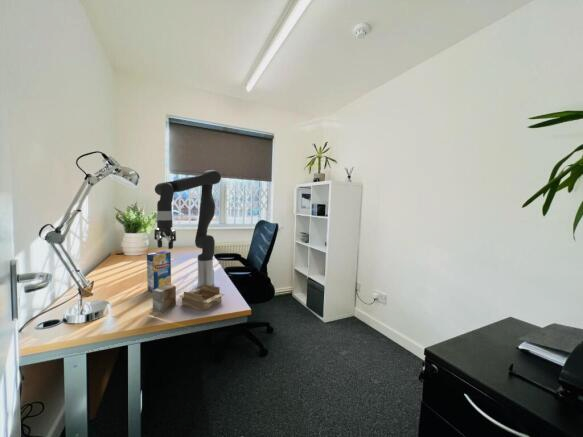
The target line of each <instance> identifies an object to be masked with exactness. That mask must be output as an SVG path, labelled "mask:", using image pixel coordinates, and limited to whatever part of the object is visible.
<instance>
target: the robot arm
mask: <svg viewBox="0 0 583 437" xmlns="http://www.w3.org/2000/svg"><path fill="white" fill-rule="evenodd" d="M221 180H222V175H221V173H220V172H219V170H216V169H215V170H214V169H211V170H205V171H204V172H203V173H202V174H200V175H195V176H190V177H183V178H179V179H178V178H177V179H175V180H171V181H165V182H159V183H158V184H156V185H155V187H154V192H155V194H157V195H159V200H158V201H157V202H156V203H157V206H156V213H157V214H156V227H157V228H155V229H154V238H153V239H154V240H156V241H157V248H162V247H163V239H164V238H165V239H166V240H167V242H168V243H167V244H168V248H167V249H168V250H172V249H173V248H174V242H176V241H177V234H176V233H177V232H176V229H173V230H172V228H173V211H172V210H173V208H172V207H173V206H172V204H173V200H174V195H175V193H179V192H180V193H181V192H184V191H189V190H192V189H195V188H198V187H201V195H200V203H199V204H200V205H199V213H198V214H199V215H198V221H197V222H198V223H197V229H196V234H195V239H194V244H195V246H196V248H198V249H202V252H201V253H200V254H198V256H197V286H198V287H197V288H199V287H200V288H202V284H206V285H211V286H214V284H215V270H214V256H215V248H216V247H215V244H216V243H215V242H216V241H215V238H214V236H213V235H211V234H208V229H209V226H210V224H211V222H212V220H213V219H214V216H215V210H216V203H215V199H214V196H213V185H217V184H219V183H220V182H221Z"/></svg>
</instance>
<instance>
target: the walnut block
mask: <svg viewBox="0 0 583 437" xmlns="http://www.w3.org/2000/svg"><path fill="white" fill-rule="evenodd" d="M175 305H177V285H173V284H171V285H166V286H163V287H160V288H158V289H155V290H153V291H152V308H153V310H152V311H154V312H157V311H158V313H160V312H161V311H164V310H166V309H168V308H170V307H172V306H175Z"/></svg>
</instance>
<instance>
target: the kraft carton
mask: <svg viewBox="0 0 583 437" xmlns="http://www.w3.org/2000/svg"><path fill="white" fill-rule="evenodd" d="M220 290H221V288H220V287H219V286H214V285H212V286H211V285H206V284H202V287H201V288H199V287H197V288H194V289H192V290H191V291H183V294H180V295H179V297H180V298H181V305H182V307H186V308H190V309H193V310H198V311H201V312H204V311H206V310H208V309H209V308H211V307H213V306H215V305H217V304H218V303H220V302H222V296H224V295H225V294H224V293H222V292H221V291H220Z"/></svg>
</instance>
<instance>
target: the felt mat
mask: <svg viewBox="0 0 583 437" xmlns="http://www.w3.org/2000/svg"><path fill="white" fill-rule="evenodd" d="M177 307H179V305H177V304H176V305H175V306H172V307H170V308H168V309H166V310H164V311H161V312H158V311H156V312H158V313H161V314H164V313H167V312H169V311H171V310H172V309H175V308H177ZM151 310H152V311H154V310H153V307H152V308H150V311H151Z"/></svg>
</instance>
